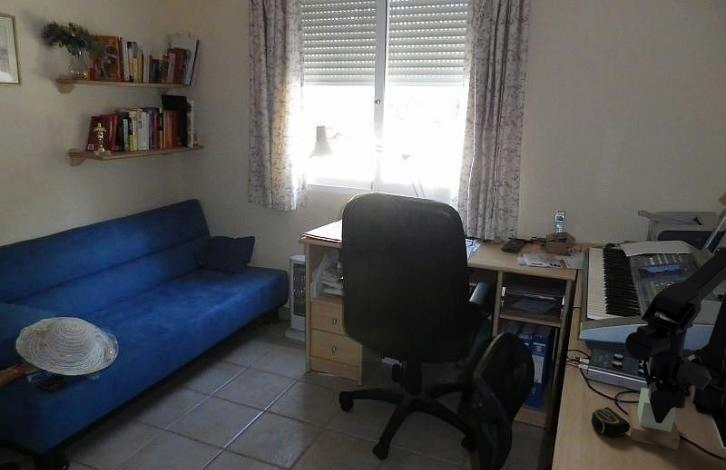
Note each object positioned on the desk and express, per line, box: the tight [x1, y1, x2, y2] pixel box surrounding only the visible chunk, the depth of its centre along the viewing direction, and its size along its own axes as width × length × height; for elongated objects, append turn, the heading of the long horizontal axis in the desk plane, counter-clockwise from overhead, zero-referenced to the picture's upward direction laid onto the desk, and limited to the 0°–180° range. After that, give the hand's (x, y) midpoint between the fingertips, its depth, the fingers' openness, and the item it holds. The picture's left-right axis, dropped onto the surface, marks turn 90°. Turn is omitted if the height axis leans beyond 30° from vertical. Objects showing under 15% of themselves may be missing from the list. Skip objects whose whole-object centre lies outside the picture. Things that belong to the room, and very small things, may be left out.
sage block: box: [637, 387, 677, 432], centre depth 115 cm, size 6×6×6 cm
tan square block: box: [627, 405, 681, 451], centre depth 117 cm, size 9×9×3 cm
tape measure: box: [590, 406, 630, 437], centre depth 118 cm, size 7×7×4 cm
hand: (655, 410), depth 115 cm, fingers open, 9 cm apart
